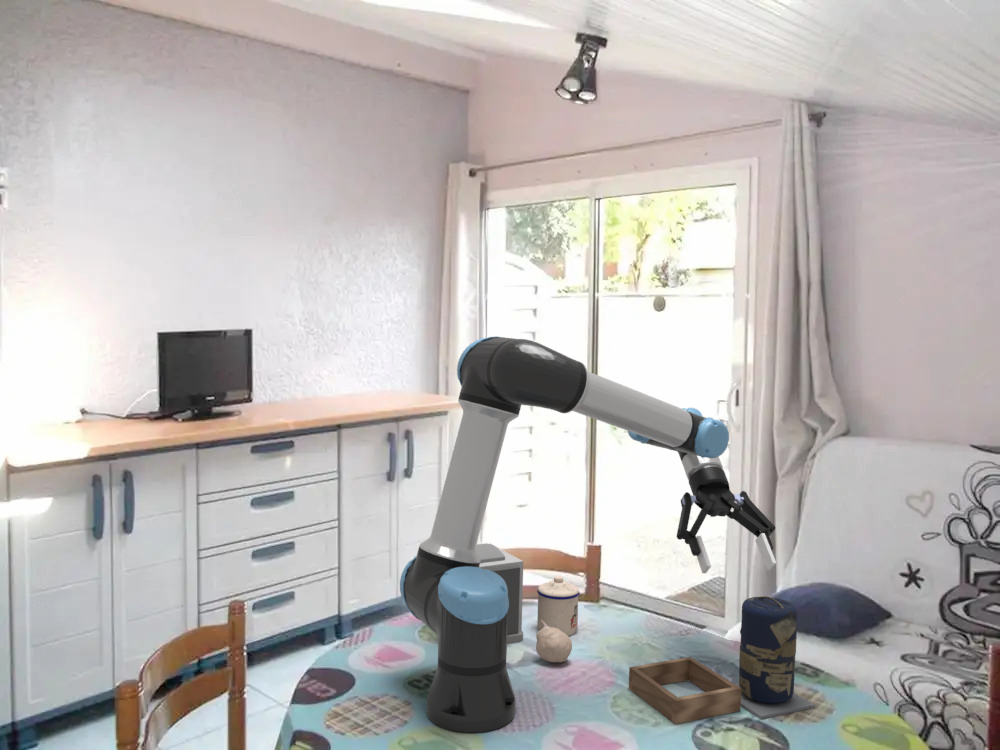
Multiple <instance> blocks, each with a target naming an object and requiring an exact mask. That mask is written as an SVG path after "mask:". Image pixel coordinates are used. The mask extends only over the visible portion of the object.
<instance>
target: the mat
mask: <svg viewBox="0 0 1000 750" xmlns="http://www.w3.org/2000/svg"><path fill="white" fill-rule="evenodd" d="M734 684H735V685H737V686H738V687H739V682H738V683H734ZM741 707H742V709H744V710H746V711H747V712H749V713H751V714H752V715H754V716H755V717H757V718H758V719H759V720H764V719H767V718H772V717H777V716H778V717H779V716H782V715H788V714H792V713H797V712H801V710H802V711H806V710H809V709H808V708H811V709H813V708H812V707H815V708H816V704H814V703H812V702H811V701H809V700H807V699H805V698H804V697H803V696H801V695H798V694H797V693H796V692H794V693H793V696H792V698H791V699H790V700H788V701H786V702H783V703H764V702H760V701H756V700H753V699H751V698H749V697H747V696H745V695H744V694H743V693H742V692H741ZM741 707H740V708H741ZM805 709H806V710H805Z"/></svg>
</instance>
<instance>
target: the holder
mask: <svg viewBox="0 0 1000 750" xmlns="http://www.w3.org/2000/svg"><path fill="white" fill-rule="evenodd" d="M685 681H687V682H688V681H689V682H690V683H692V684H693V685H695V686H696V687H697V688H700V689H701V690H702V691H704V692H699V693H693V694H689V695H684V696H683V695H682V696H679V697H678V696H676V695H675V693H672V692H671V691H669V690H668V689H667V688H666V687H664V685H671V684H676V683H682V682H685ZM735 684H736V683H733V682H732V681H731V680H728V679H727V678H725V677H724V676H722V675H721V674H719V673H717V672H716V671H714V670H712V669H711V668H709V667H708V666H706V665H705V664H703V663H701V662H700V661H698V660H696V659H695V658H693V657H691V656H688V657H687V656H686V657H683V658H681V657H680V658H676V659H669V660H663V661H657V662H651V663H646V664H639V665H634V666H629V667H628V690H630V691H631V692H632V693H634V694H635V695H636V696H638V697H639V698H640V699H642V700H643V701H645V702H646V703H647V704H648V705H650V706H651V707H652V708H654V709H655V710H656V711H658V712H659V713H660V714H662V715H663V716H664V717H665V718H666V719H668V720H669V721H671V722H672V723H673V724H675V725H678V724H684V723H688V722H693V721H698V720H702V719H703V720H704V719H707V718H712V717H717V716H722V715H727V714H731V713H736V712H737V713H738V712H740V711H741V688H740V687H738V686H737V685H735Z"/></svg>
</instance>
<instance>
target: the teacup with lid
mask: <svg viewBox="0 0 1000 750" xmlns="http://www.w3.org/2000/svg"><path fill="white" fill-rule="evenodd" d="M536 592H537V595H538V596H537V627H536V628H537V630H538V631H539V630H541V629H543V624H542V623H541V622H540V621H541V620H543V621H544V622H545V623H546V625H547V626H548V627H553V628H557V629H559V630H561V631H562V632H563V633H565V634H566V635H567V636H568V637H569V636H572V635H574V634H576V633H577V631H578V618H579V615H578V614H579V595H580V593H581V592H580V589H579V588H578V586H576V585H575V584H572V583H569V582H568V581H567V580H564V577H563V576H561V575H555V576H554V578H553V579H552V580H550V581H548V582H544V583H541V584H540V585H538V587H537V590H536Z"/></svg>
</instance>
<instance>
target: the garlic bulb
mask: <svg viewBox="0 0 1000 750" xmlns="http://www.w3.org/2000/svg"><path fill="white" fill-rule="evenodd" d="M540 622H541V623H542V624H543V629H541V630H538V632H537V634H536V636H535V637H536V646H535V650H536V651H535V652H536V653H537V655H538V656H539V657H540V658H541V660H544V661H546V662H551V663H559V664H560V663H564V662H565V661H567V660H568V659H569V657H570V655H571V654H572V651H573V650H572V649H573V644H572V640H571V638H570V637H569V636H567V635H566V634H565V633H563V632H562V631H561V630H559V629H557V628H553V627H548V626H547V625H546V623H545V622H544V621H543V620H541V621H540Z"/></svg>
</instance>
